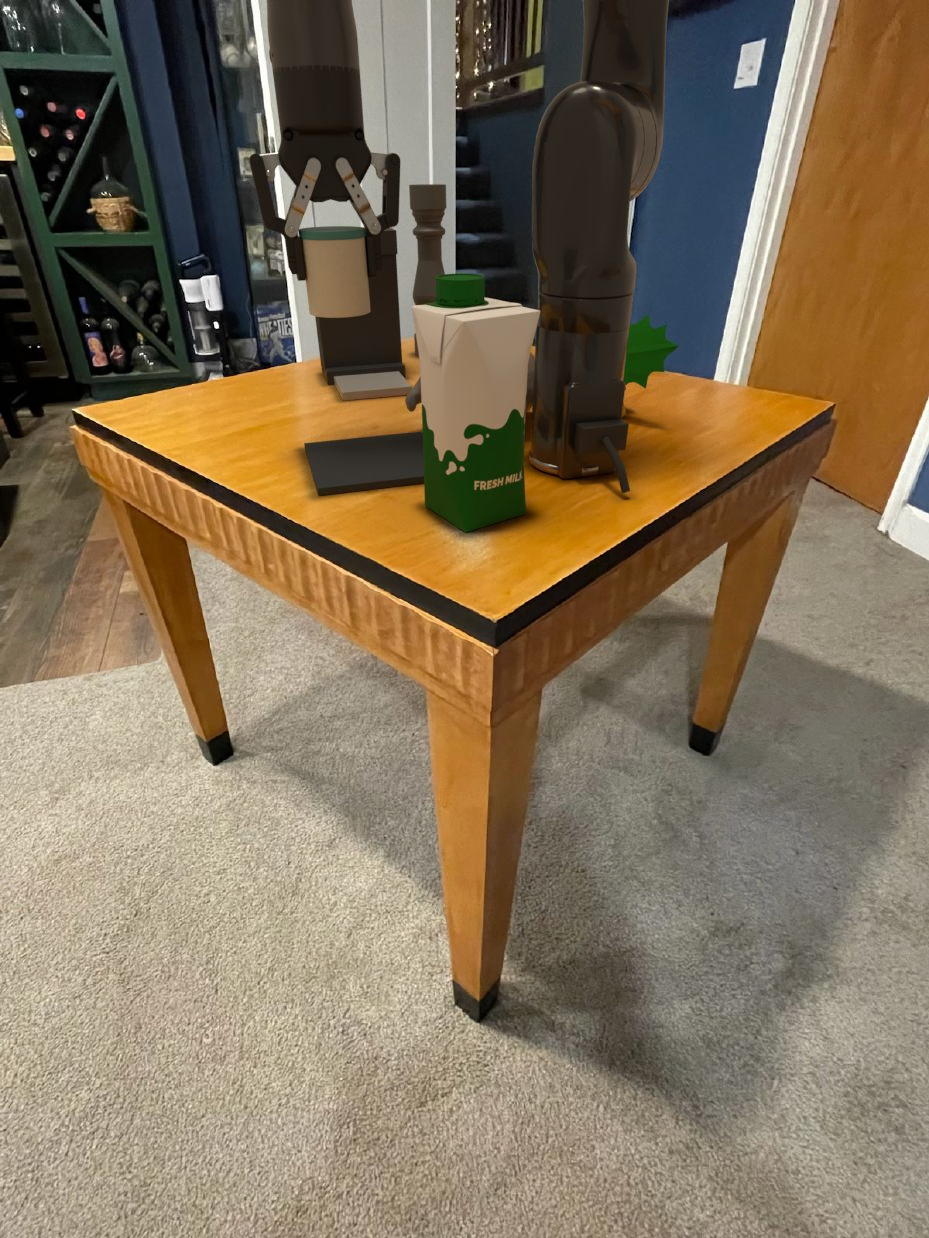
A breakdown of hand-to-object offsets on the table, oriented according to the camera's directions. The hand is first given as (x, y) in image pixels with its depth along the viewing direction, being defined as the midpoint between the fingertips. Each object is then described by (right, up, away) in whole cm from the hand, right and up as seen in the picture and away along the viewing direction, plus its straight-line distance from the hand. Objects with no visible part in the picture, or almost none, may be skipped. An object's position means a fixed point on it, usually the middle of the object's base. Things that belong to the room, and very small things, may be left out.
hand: (337, 277), depth 69 cm
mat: (+3, -17, +7) cm, 19 cm away
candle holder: (+7, +12, +51) cm, 53 cm away
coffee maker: (-2, +1, +35) cm, 35 cm away
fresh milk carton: (+14, -24, -3) cm, 28 cm away
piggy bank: (+16, -9, +19) cm, 27 cm away
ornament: (+31, -7, +23) cm, 39 cm away
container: (0, -3, +2) cm, 3 cm away
